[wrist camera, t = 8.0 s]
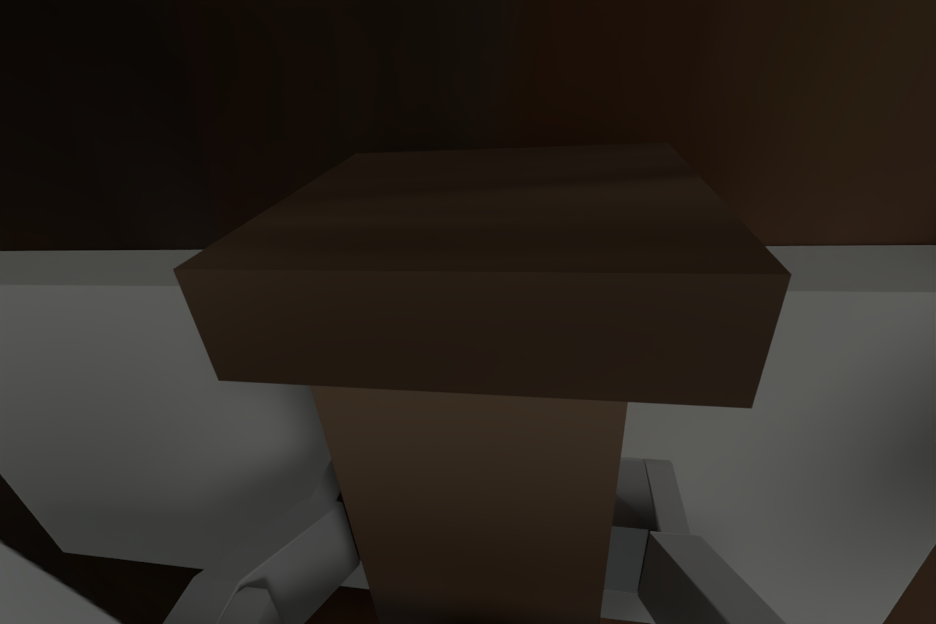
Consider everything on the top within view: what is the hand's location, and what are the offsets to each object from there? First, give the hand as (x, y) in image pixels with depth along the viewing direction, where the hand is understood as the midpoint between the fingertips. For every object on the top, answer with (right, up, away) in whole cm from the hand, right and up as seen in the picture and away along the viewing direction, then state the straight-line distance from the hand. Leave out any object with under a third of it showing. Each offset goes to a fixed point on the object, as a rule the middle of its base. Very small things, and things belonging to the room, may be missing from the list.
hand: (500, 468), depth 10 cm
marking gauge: (0, +3, +1) cm, 3 cm away
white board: (-3, 0, +4) cm, 5 cm away
